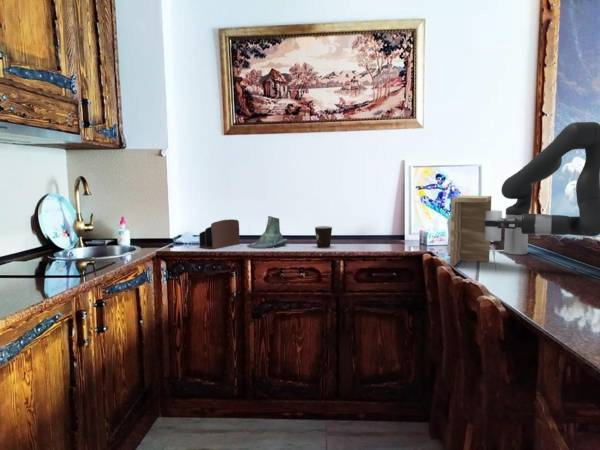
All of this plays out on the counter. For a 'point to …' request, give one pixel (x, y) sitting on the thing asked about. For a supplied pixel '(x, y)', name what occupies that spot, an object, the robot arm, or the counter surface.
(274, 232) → the tree stump
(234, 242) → the letter holder
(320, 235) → the coffee mug
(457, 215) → the cubby
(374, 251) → the counter surface
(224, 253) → the counter surface
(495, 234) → the white upright cylinder
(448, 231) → the plastic bottle
